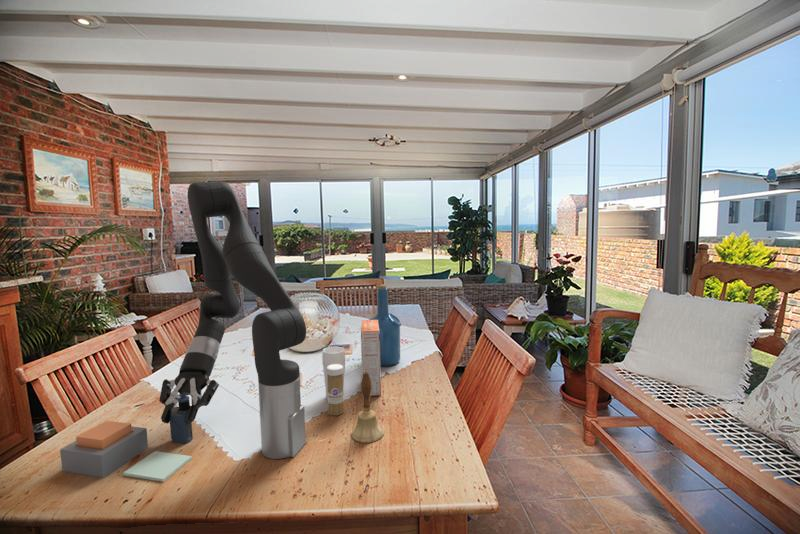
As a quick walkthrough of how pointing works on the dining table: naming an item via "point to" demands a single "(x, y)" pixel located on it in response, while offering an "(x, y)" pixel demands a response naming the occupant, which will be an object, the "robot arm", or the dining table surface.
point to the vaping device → (180, 421)
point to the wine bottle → (387, 330)
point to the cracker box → (371, 354)
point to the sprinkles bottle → (335, 389)
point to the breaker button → (104, 435)
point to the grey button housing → (103, 455)
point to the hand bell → (366, 417)
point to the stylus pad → (158, 466)
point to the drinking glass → (333, 361)
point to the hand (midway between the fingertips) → (176, 422)
